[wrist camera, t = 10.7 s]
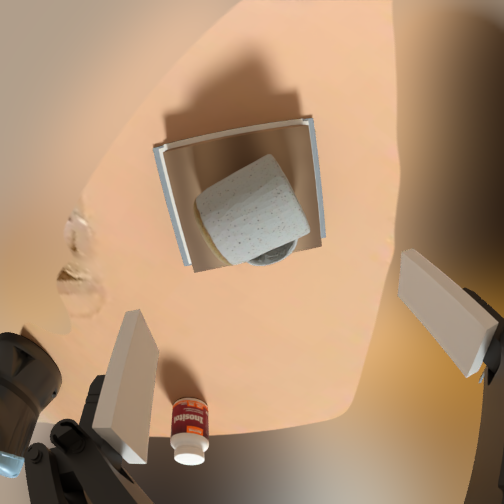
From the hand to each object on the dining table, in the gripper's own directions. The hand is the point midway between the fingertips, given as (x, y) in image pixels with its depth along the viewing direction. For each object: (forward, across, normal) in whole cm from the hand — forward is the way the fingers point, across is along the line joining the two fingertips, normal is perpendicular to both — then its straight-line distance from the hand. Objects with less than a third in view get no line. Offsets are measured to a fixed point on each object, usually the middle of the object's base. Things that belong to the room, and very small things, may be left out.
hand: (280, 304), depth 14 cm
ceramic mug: (+17, +1, -1) cm, 17 cm away
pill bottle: (+21, -15, -34) cm, 43 cm away
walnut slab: (+20, +1, 0) cm, 20 cm away
